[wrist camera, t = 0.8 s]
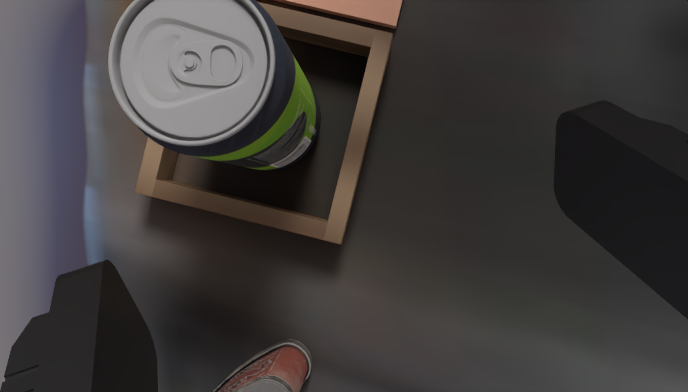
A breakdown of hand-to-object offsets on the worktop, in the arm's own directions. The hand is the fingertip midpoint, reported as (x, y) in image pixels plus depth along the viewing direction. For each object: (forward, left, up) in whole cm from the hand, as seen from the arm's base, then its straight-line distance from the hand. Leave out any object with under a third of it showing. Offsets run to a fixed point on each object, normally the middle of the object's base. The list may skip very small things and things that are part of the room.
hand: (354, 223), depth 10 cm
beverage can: (-3, -7, -24) cm, 25 cm away
